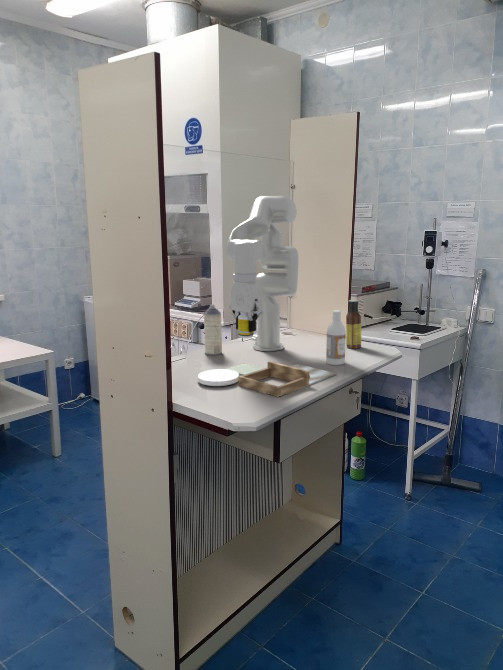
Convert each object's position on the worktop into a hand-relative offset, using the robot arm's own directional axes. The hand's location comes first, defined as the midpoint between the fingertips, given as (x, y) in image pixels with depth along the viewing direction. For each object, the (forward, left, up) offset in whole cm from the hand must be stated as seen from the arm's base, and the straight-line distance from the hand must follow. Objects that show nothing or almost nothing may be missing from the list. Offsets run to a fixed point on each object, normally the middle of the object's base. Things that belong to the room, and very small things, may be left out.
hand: (245, 329), depth 188 cm
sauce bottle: (+8, +56, -16) cm, 58 cm away
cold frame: (+16, +4, -16) cm, 23 cm away
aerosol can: (-29, +11, -16) cm, 35 cm away
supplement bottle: (0, 0, -3) cm, 3 cm away
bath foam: (+16, +32, -16) cm, 39 cm away
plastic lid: (-1, -13, -16) cm, 21 cm away
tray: (0, 0, -16) cm, 16 cm away
